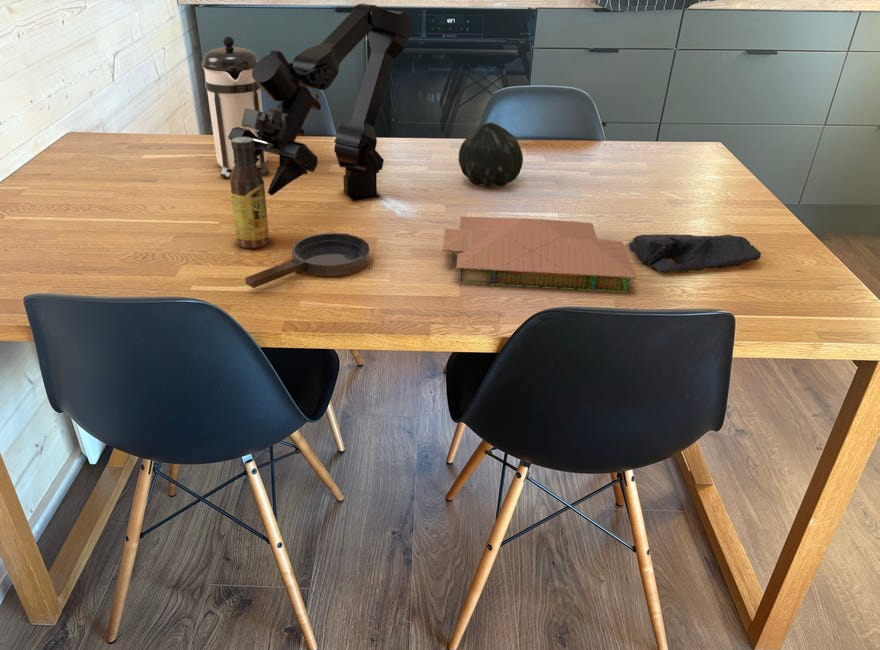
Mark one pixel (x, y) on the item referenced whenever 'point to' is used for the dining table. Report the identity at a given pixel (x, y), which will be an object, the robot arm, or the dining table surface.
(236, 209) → the sauce bottle
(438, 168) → the dining table surface
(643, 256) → the dark slate chunk
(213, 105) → the coffee press
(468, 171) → the squash
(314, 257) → the cast iron pan
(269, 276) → the pan handle
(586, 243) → the house
